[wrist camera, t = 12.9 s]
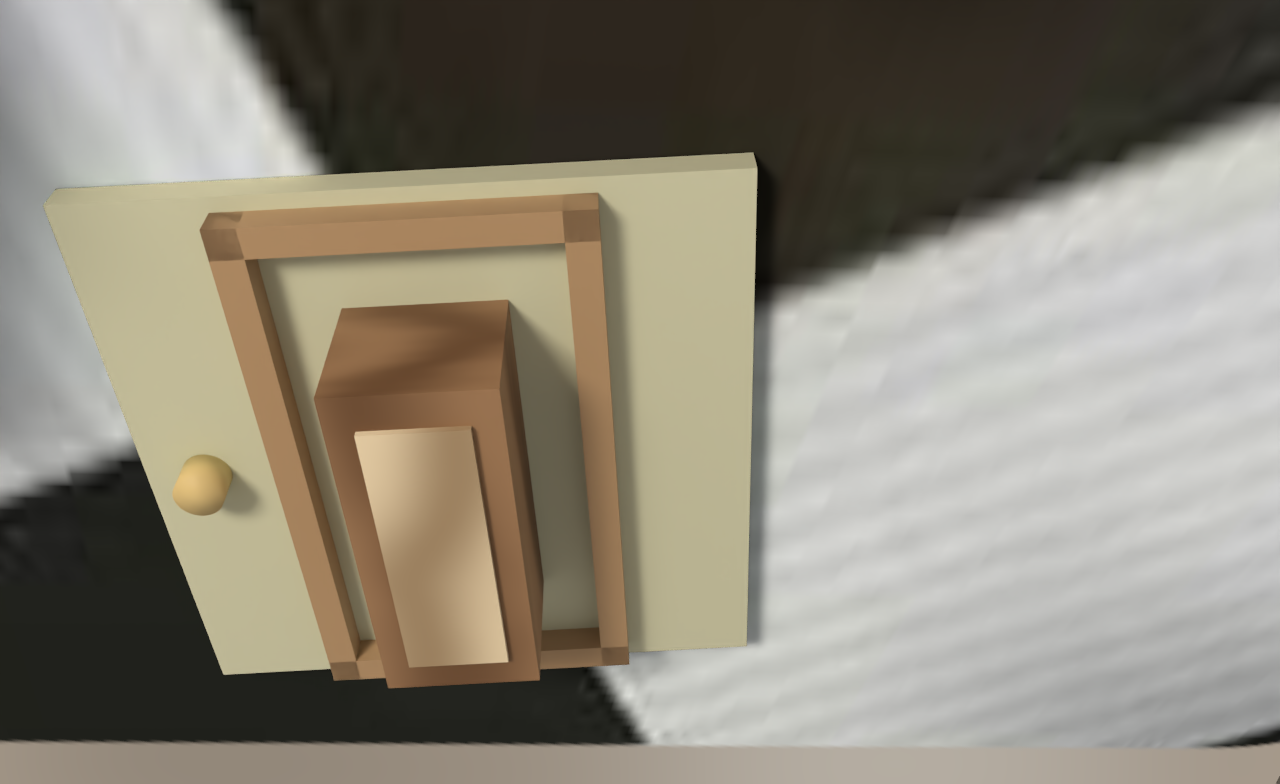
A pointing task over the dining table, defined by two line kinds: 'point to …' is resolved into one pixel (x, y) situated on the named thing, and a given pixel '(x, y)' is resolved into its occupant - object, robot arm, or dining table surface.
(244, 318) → the mount board
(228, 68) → the dining table surface
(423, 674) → the wooden block
